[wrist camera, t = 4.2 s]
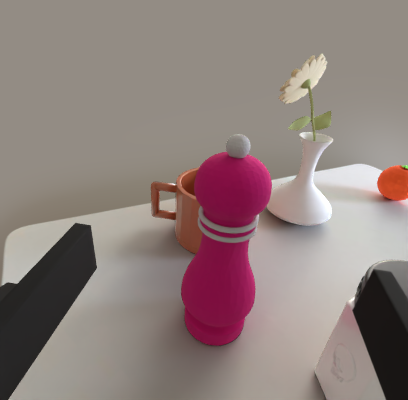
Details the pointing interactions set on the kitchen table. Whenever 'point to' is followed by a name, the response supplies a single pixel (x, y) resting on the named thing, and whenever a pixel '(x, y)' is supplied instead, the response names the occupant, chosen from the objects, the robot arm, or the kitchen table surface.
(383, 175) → the clementine
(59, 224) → the kitchen table surface
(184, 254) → the kitchen table surface
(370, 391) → the jar
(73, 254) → the robot arm
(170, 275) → the kitchen table surface
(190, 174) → the terracotta coffee mug
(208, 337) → the pepper mill
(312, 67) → the flower in vase
